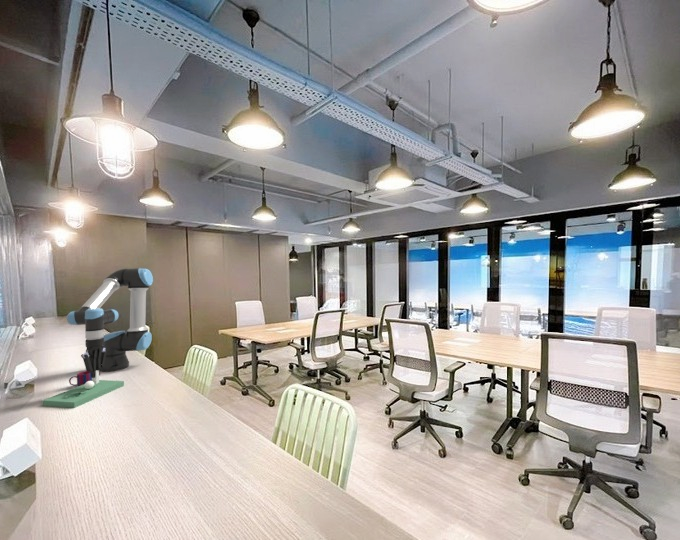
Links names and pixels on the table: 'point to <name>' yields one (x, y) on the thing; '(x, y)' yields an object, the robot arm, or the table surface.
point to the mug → (82, 378)
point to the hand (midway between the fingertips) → (95, 382)
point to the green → (82, 394)
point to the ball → (89, 384)
